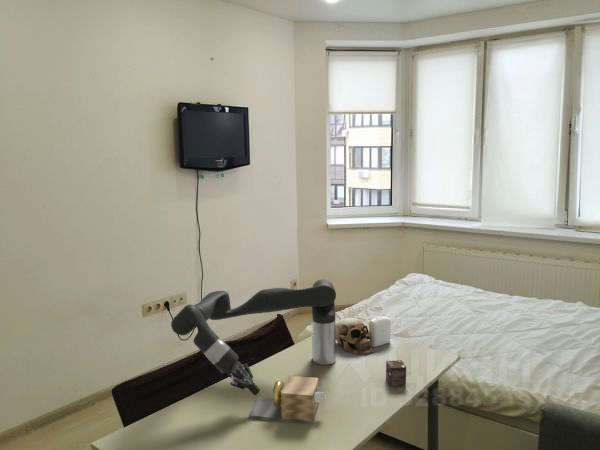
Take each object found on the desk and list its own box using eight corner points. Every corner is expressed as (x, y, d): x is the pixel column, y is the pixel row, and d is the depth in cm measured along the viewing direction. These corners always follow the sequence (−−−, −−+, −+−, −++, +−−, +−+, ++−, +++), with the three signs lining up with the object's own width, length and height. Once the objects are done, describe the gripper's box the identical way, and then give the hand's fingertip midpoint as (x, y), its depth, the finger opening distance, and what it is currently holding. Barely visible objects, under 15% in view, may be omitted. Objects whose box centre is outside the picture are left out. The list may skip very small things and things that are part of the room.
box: (385, 379, 179) (385, 360, 178) (401, 378, 179) (401, 359, 178) (389, 387, 173) (390, 367, 172) (406, 386, 173) (406, 366, 172)
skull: (371, 355, 200) (368, 324, 199) (331, 355, 205) (328, 325, 204) (376, 342, 215) (373, 313, 214) (338, 343, 220) (335, 314, 219)
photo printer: (373, 348, 208) (373, 320, 206) (367, 344, 211) (367, 317, 210) (391, 343, 213) (392, 316, 211) (385, 339, 217) (385, 313, 215)
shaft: (273, 411, 154) (272, 387, 153) (278, 398, 162) (278, 376, 161) (323, 415, 151) (323, 391, 150) (326, 402, 159) (326, 379, 158)
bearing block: (248, 418, 154) (247, 390, 153) (258, 399, 166) (257, 373, 164) (313, 423, 150) (312, 395, 149) (318, 404, 162) (318, 377, 160)
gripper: (220, 354, 166) (256, 390, 166) (206, 371, 153) (244, 410, 153) (235, 340, 164) (270, 377, 164) (221, 356, 152) (260, 395, 151)
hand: (257, 392), depth 158 cm, fingers closed
